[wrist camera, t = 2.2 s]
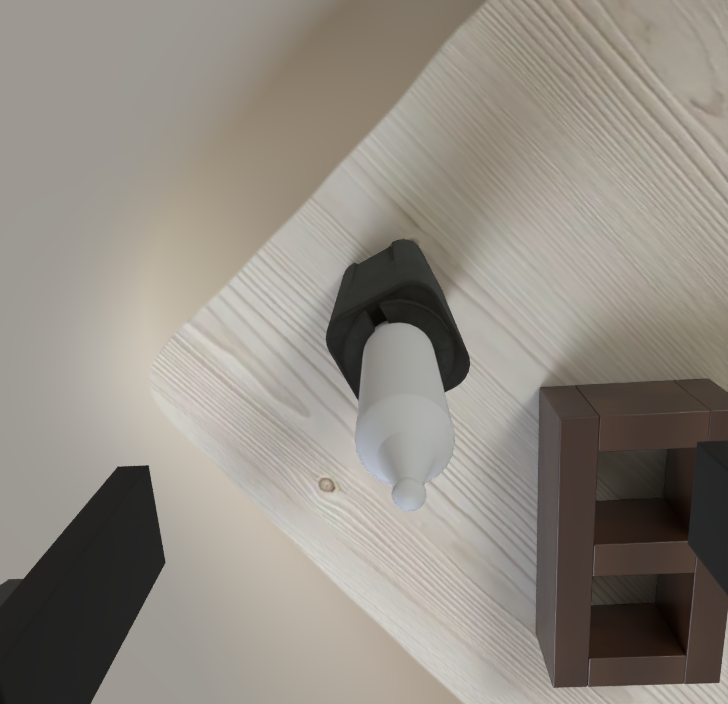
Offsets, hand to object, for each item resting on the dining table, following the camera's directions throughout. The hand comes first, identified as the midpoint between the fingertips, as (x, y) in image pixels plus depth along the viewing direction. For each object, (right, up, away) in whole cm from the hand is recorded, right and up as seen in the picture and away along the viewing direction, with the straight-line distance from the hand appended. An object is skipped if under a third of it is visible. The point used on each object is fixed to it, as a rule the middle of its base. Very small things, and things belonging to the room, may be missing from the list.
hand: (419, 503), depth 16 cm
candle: (0, +7, +24) cm, 25 cm away
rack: (+15, -7, +28) cm, 33 cm away
